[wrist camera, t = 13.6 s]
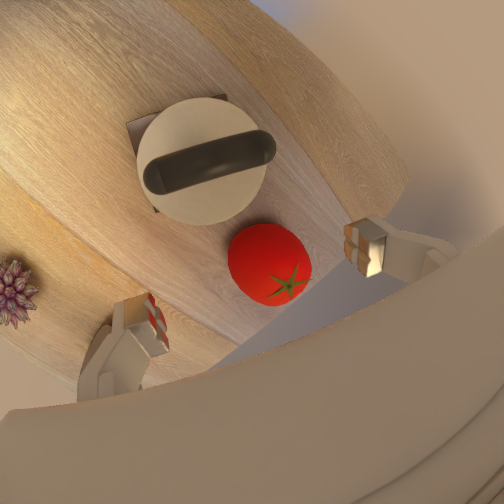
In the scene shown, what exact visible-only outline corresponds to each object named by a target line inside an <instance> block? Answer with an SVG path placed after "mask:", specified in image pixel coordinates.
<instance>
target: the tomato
mask: <svg viewBox="0 0 504 504" xmlns="http://www.w3.org/2000/svg"><path fill="white" fill-rule="evenodd" d="M228 266H229V270H230V273H231V276H232V278H233V280H234V281H235V282H236V284H237V285H238V286H239V288H240V289H241V290H242V291H243V292H244V293H245V294H246V295H248V296H249V297H250V298H251V299H253V300H254V301H256V302H258V303H261V304H264V305H267V306H280V305H283V304H285V303H287V302H289V301H291V300H292V299H294V298H295V297H296V296H298V295H299V294H300V293H301V292H302V291H303V290H304V288H305V287H306V285H307V284H308V282H309V281H310V280H312V279H310V276H311V272H312V266H311V262H310V258H309V255H308V253H307V252H306V250H305V248H304V246H303V244H302V243H301V241H300V240H299V239H298V238H297V237H296V236H295V235H294V234H293V233H292V232H290V231H289V230H287V229H285V228H284V227H282V226H279V225H276V224H270V223H263V224H256V225H252V226H250V227H247V228H245V229H243V230H242V231H240V232H239V233H238V234H237V235H236V236H235V237H234V239H233V240H232V241H231V243H230V247H229V250H228ZM309 279H310V280H309Z"/></svg>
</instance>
